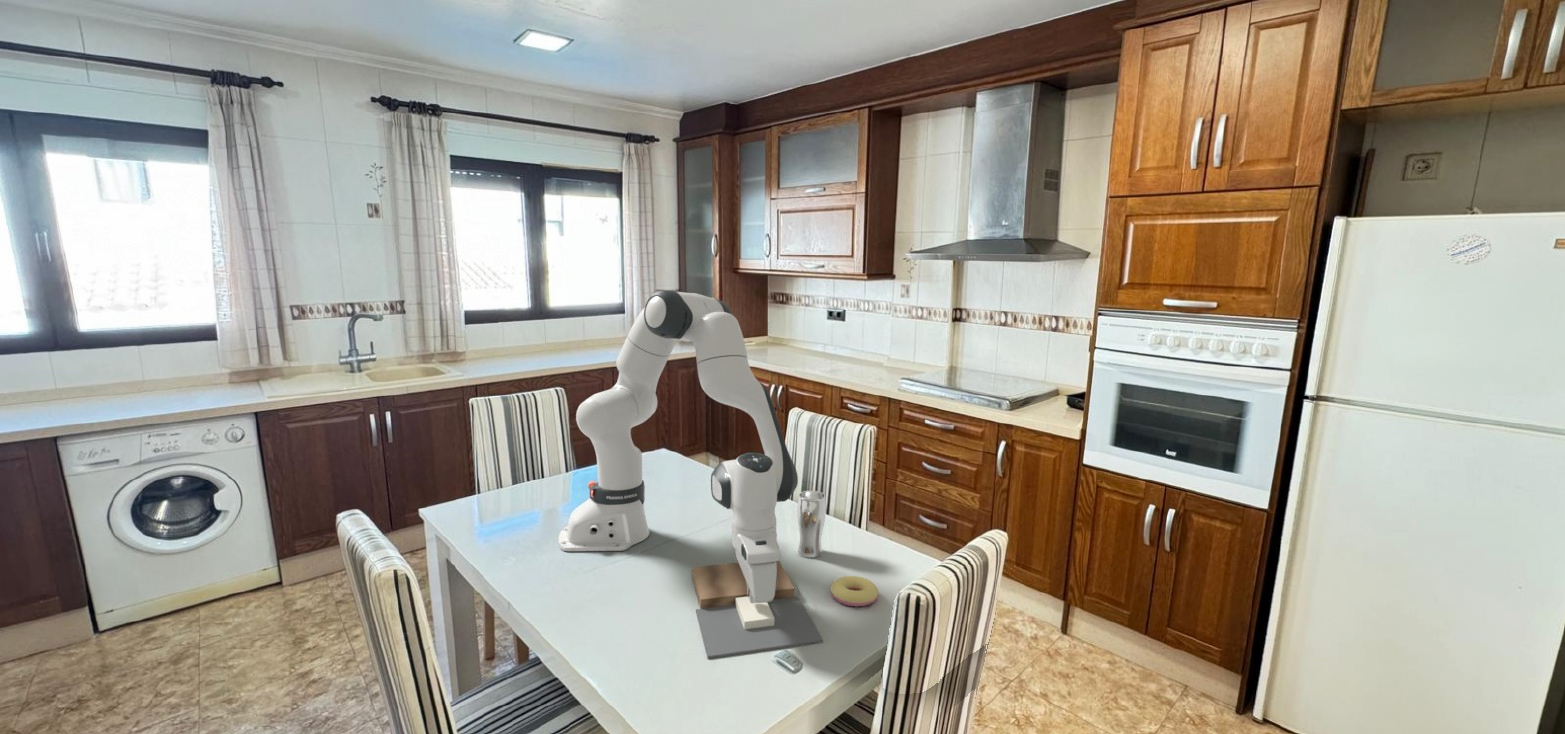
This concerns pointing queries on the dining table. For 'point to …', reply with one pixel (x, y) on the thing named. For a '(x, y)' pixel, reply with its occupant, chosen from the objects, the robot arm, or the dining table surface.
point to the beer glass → (811, 522)
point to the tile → (754, 613)
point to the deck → (731, 584)
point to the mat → (756, 629)
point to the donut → (854, 591)
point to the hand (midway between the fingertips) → (752, 599)
